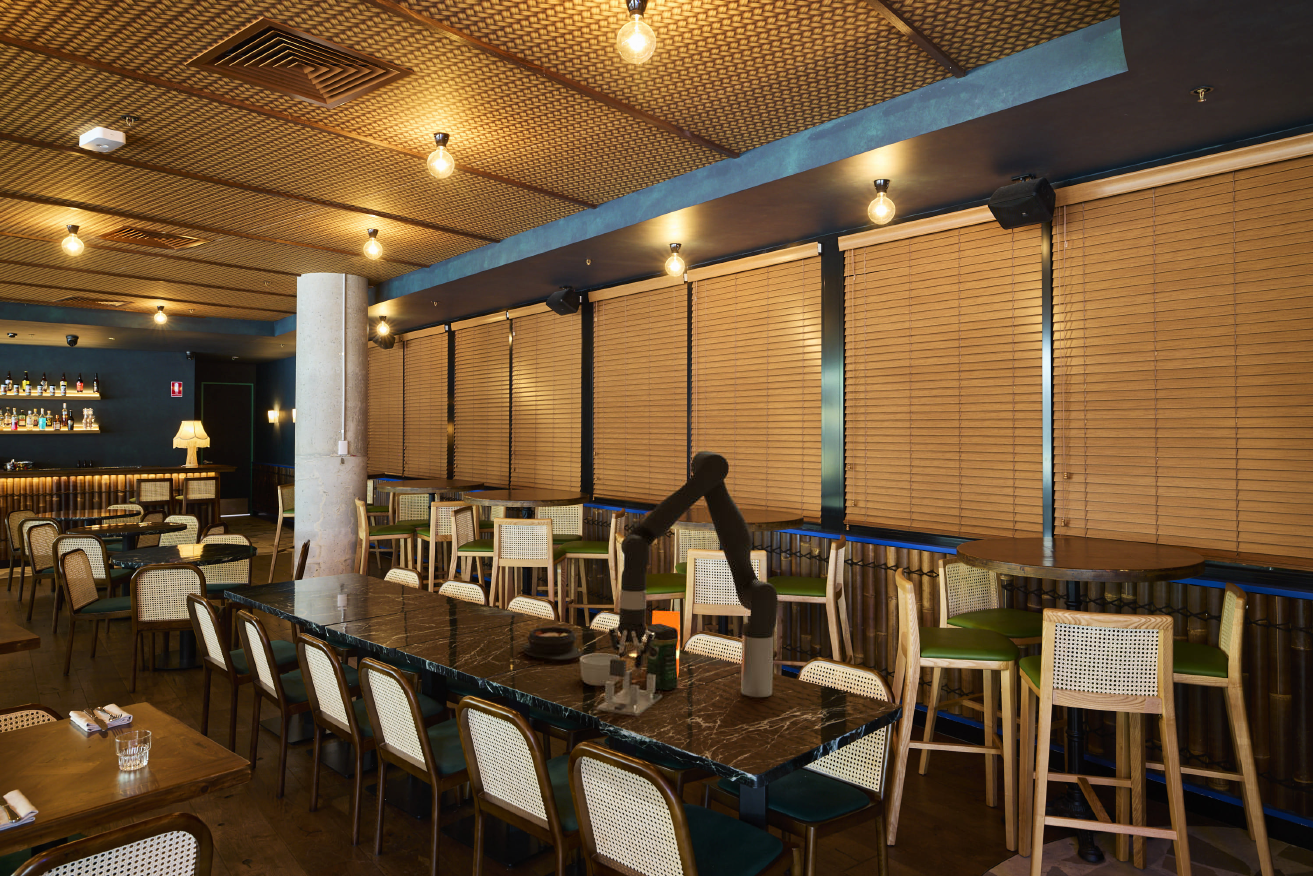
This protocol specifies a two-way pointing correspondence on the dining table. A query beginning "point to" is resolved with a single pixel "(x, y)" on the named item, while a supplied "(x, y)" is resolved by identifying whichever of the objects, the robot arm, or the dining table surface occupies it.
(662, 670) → the coffee jar
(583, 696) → the dining table surface
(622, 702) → the white holder rack
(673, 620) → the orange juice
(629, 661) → the tube
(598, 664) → the ramekin
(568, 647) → the casserole
